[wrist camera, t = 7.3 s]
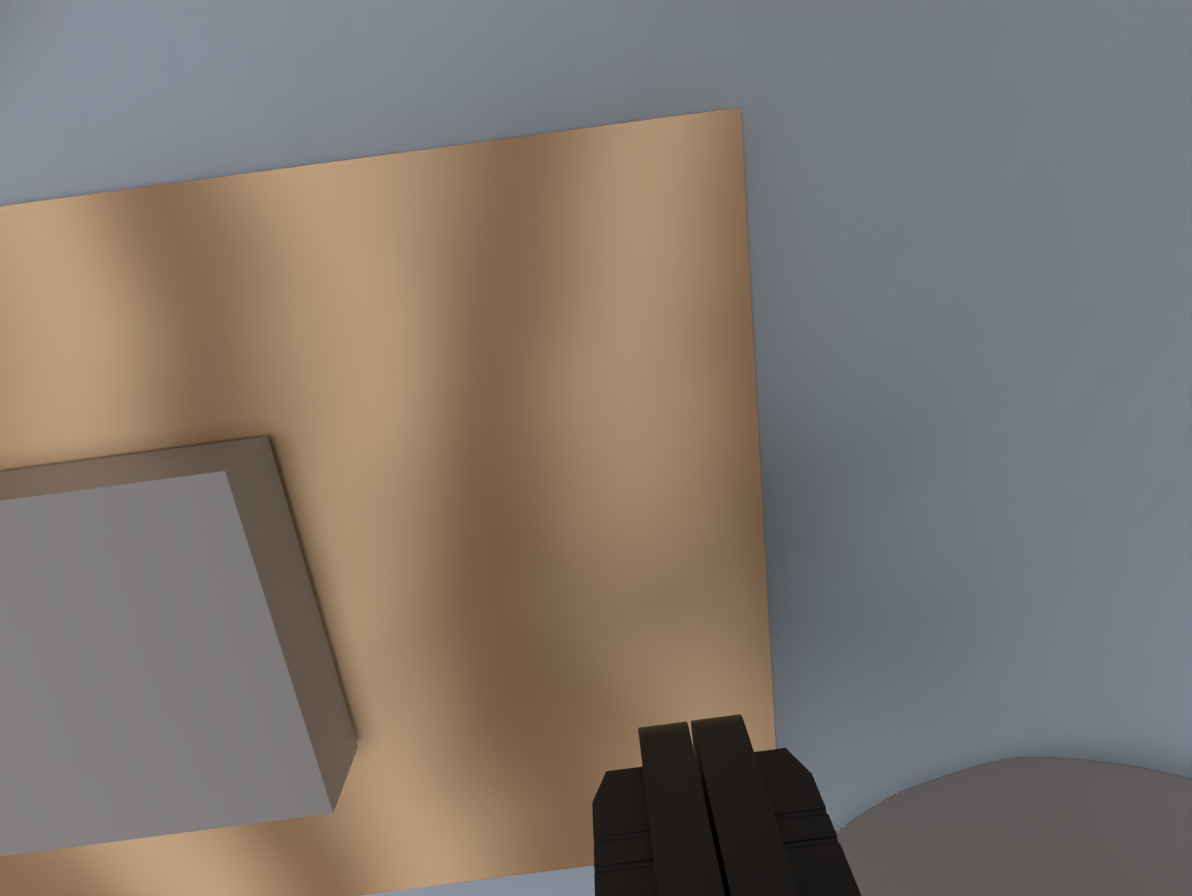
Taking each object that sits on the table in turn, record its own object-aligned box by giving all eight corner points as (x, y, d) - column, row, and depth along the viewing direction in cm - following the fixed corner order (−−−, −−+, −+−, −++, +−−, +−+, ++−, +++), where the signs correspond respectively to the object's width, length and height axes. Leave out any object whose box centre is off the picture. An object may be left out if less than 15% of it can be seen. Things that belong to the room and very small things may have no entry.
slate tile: (224, 471, 13) (-269, 536, 13) (333, 812, 16) (-78, 866, 16) (272, 432, 15) (-153, 489, 15) (360, 739, 18) (-2, 787, 18)
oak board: (729, 112, 15) (769, 93, 12) (771, 810, 20) (804, 909, 18) (-460, 272, 15) (-706, 290, 12) (-75, 920, 21) (-177, 1036, 18)
